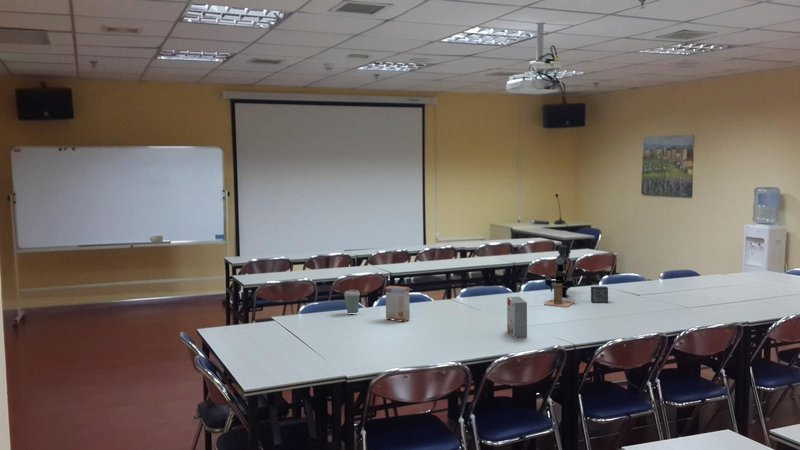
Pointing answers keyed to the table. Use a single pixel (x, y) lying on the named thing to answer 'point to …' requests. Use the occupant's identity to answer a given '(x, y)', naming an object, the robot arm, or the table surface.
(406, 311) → the cracker box
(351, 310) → the disposable coffee cup
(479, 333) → the table surface
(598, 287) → the small box
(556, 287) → the walnut block
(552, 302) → the terracotta mat
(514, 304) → the hard drive box
